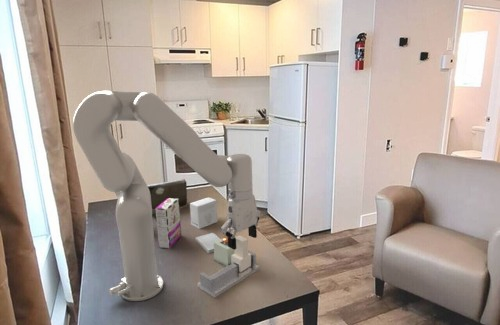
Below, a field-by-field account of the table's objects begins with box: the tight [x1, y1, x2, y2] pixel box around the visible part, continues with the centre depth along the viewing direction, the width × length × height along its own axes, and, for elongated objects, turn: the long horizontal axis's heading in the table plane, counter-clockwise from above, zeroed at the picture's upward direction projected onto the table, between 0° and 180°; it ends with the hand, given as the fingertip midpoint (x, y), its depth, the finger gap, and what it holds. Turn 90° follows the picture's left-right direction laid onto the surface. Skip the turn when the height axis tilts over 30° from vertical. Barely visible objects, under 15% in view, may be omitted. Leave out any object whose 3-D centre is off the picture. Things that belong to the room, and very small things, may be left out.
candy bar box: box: [155, 198, 182, 249], centre depth 128 cm, size 11×5×16 cm, turn 168°
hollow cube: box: [213, 237, 234, 268], centre depth 115 cm, size 7×7×7 cm
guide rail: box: [197, 250, 260, 299], centre depth 105 cm, size 20×8×5 cm, turn 137°
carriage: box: [231, 234, 251, 272], centre depth 108 cm, size 5×4×10 cm
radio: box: [146, 178, 189, 217], centre depth 159 cm, size 23×9×15 cm, turn 127°
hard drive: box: [195, 232, 221, 254], centre depth 128 cm, size 2×8×12 cm
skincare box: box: [189, 196, 219, 230], centre depth 145 cm, size 10×6×10 cm, turn 135°
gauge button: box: [222, 235, 228, 246], centre depth 115 cm, size 4×4×7 cm
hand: (242, 242), depth 107 cm, fingers open, 9 cm apart
